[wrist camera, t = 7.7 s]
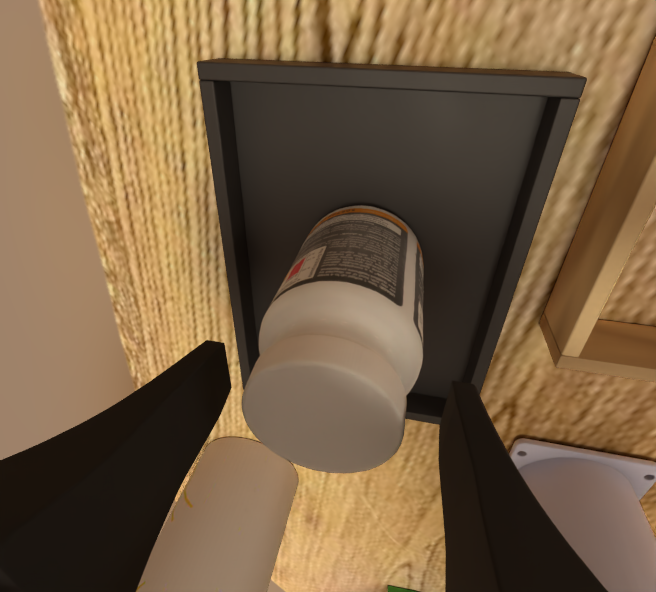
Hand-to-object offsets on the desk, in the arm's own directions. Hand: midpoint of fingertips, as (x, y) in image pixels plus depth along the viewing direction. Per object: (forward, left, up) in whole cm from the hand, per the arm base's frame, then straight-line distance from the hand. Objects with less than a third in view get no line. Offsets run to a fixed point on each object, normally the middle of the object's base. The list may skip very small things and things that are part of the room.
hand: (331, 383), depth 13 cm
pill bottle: (0, 0, -8) cm, 8 cm away
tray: (0, 0, -9) cm, 9 cm away
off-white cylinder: (-21, +8, -9) cm, 24 cm away
